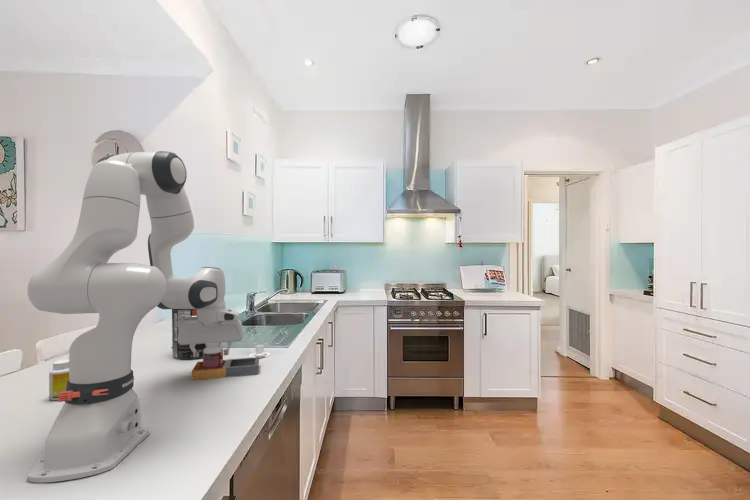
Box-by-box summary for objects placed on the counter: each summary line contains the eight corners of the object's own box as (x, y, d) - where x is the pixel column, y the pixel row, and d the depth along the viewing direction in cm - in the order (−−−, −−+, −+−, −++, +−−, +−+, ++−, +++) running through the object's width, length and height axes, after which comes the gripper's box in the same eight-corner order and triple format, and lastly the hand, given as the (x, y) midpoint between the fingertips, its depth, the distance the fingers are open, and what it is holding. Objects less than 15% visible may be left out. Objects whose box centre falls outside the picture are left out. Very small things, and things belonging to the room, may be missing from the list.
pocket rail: (258, 374, 126) (258, 365, 126) (191, 380, 121) (191, 371, 121) (259, 365, 136) (259, 357, 136) (197, 370, 131) (197, 361, 131)
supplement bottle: (79, 395, 108) (79, 359, 108) (56, 402, 103) (56, 365, 103) (67, 392, 111) (67, 357, 111) (45, 399, 106) (44, 362, 106)
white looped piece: (263, 360, 144) (263, 349, 144) (244, 359, 145) (244, 348, 145) (273, 353, 153) (273, 343, 153) (255, 352, 154) (255, 343, 154)
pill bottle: (224, 374, 126) (224, 341, 126) (204, 378, 123) (204, 344, 123) (220, 369, 131) (220, 338, 131) (201, 372, 128) (201, 340, 128)
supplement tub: (193, 348, 160) (193, 287, 160) (224, 351, 155) (224, 288, 155) (162, 358, 145) (162, 291, 145) (194, 362, 140) (194, 292, 140)
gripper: (175, 318, 121) (175, 361, 121) (242, 314, 127) (242, 356, 127) (179, 314, 127) (179, 355, 127) (243, 312, 133) (243, 351, 133)
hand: (211, 355), depth 127 cm, fingers open, 8 cm apart
